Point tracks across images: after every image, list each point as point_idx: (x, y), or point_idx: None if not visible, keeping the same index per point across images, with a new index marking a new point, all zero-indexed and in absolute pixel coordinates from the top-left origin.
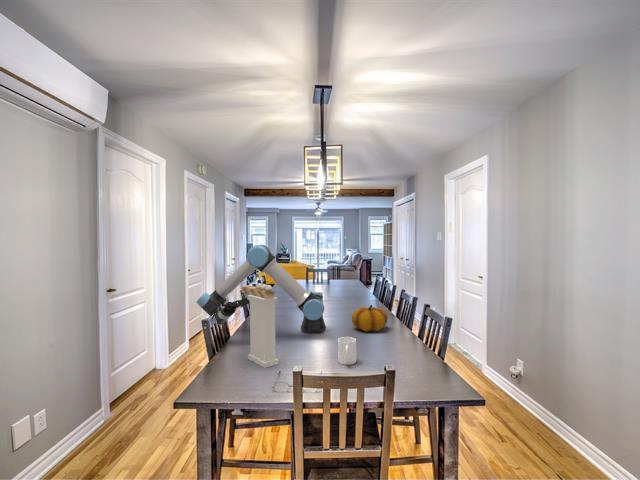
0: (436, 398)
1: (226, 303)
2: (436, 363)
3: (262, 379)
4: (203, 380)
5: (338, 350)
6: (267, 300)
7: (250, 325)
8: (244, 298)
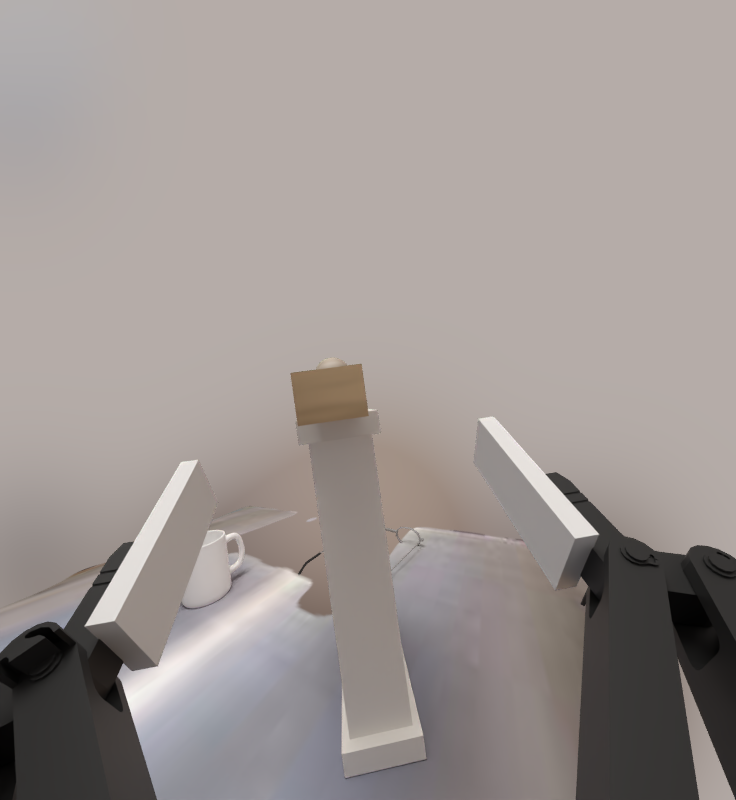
0: (270, 510)
1: (594, 765)
2: None
3: (426, 581)
4: None
5: (222, 564)
6: None
7: (390, 568)
8: (101, 752)
